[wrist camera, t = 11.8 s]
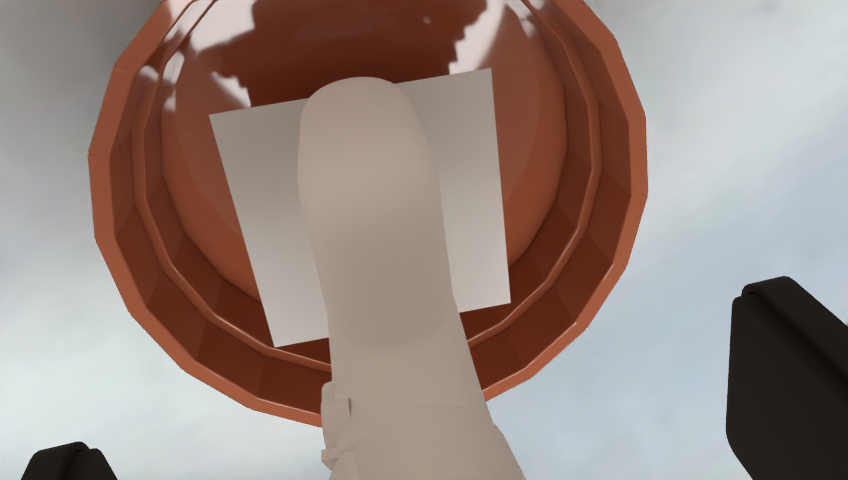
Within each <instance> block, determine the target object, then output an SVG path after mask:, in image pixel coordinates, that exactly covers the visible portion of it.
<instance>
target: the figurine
mask: <svg viewBox="0 0 848 480" xmlns="http://www.w3.org/2000/svg"><path fill="white" fill-rule="evenodd" d="M209 118H210V121H211V125H212V128H213V132H214V135H215V139H216V142H217V146H218V149H219V153H220V157H221V160H222V164H223V167H224V171H225V174H226V178H227V181H228V185H229V188H230V192H231V195H232V199H233V202H234V206H235V209H236V213H237V216H238V220H239V223H240V227H241V231H242V234H243V238H244V241H245V245H246V248H247V252H248V255H249V259H250V262H251V266H252V269H253V273H254V276H255V280H256V283H257V287H258V290H259V294H260V297H261V301H262V305H263V308H264V312H265V315H266V319H267V322H268V326H269V329H270V333H271V336H272V340H273V343H274V347H280V346H285V345H291V344H296V343H301V342H306V341H312V340H317V339H322V338H328V337H329V345H330V357H331V368H332V381H330V382H328V383H325V384H324V385H323V387H322V403H321V420H322V429H323V435H324V441H325V445H326V449H324V450H322V462H323V463H324V464H325V465H326V466H327V467H328V468H329V469H330V470H331V471H332V473H331V476H330V479H329V480H526V479H525V477H524V475H523V473H522V471H521V469H520V467H519V465H518V463H517V461H516V459H515V457H514V455H513V453H512V451H511V449H510V447H509V445H508V443H507V441H506V439H505V437H504V435H503V434H502V432H501V431H500V430H499V428H498V427H497V426H496V425H495V424H494V423H493V421H492V418H491V416H490V413H489V410H488V407H487V404H486V402H485V399H484V396H483V393H482V390H481V387H480V383H479V380H478V377H477V374H476V371H475V367H474V364H473V360H472V357H471V354H470V350H469V347H468V343H467V340H466V336H465V333H464V329H463V325H462V322H461V318H460V315H459V313H460V312H465V311H471V310H476V309H481V308H486V307H492V306H497V305H502V304H508V303H511V300H510V288H509V276H508V264H507V252H506V240H505V228H504V216H503V204H502V192H501V181H500V169H499V157H498V145H497V133H496V121H495V109H494V97H493V85H492V73H491V68H487V69H481V70H475V71H469V72H463V73H457V74H451V75H445V76H439V77H433V78H427V79H421V80H415V81H409V82H402V83H396V84H393V83H391V82H389V81H386V80H383V79H380V78H374V77H354V78H347V79H343V80H338V81H336V82H333V83H330V84H328V85H326V86H324V87H322V88H320V89H319V90H318V91H316V92H315V93H314V94H313V95H312V96H311V97H310V98H306V99H300V100H294V101H288V102H282V103H276V104H270V105H264V106H258V107H252V108H246V109H240V110H234V111H228V112H222V113H216V114H210V115H209Z"/></svg>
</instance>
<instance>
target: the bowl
mask: <svg viewBox="0 0 848 480" xmlns="http://www.w3.org/2000/svg"><path fill="white" fill-rule="evenodd" d="M487 68H491V73H492V85H493V97H494V109H495V121H496V133H497V145H498V157H499V169H500V181H501V192H502V204H503V216H504V228H505V240H506V252H507V264H508V276H509V288H510V300H511V303H508V304H502V305H497V306H492V307H486V308H481V309H476V310H471V311H465V312H460V313H459V315H460V318H461V322H462V325H463V329H464V333H465V336H466V340H467V343H468V347H469V350H470V354H471V357H472V360H473V364H474V367H475V371H476V374H477V377H478V380H479V383H480V387H481V390H482V393H483V396H484V399H485V402H486V401H488V400H490V399H492V398H494V397H496V396H498V395H500V394H502V393H503V392H505V391H507V390H509V389H511V388H513V387H515V386H517V385H519V384H521V383H523V382H525V381H527V380H529V379H530V378H531V377H533V376H534V375H536V374H537V373H538V372H539V371H540V370H541V369H542V368H543V367H545V366H546V365H547V364H548V363H549V362H550V361H551V360H552V359H553V358H555V357H556V356H557V355H558V354H559V353H560V352H561V351H562V350H564V349H565V348H566V347H567V346H568V345H569V344H570V343H571V342H573V341H574V340H575V339H576V338H577V337H578V336H579V335H580V334H582V333H583V332H584V331H585V330H586V328H587V327H588V326H589V325H590V323H591V321H592V320H593V318H594V317H595V315H596V314H597V312H598V311H599V309H600V308H601V306H602V304H603V303H604V301H605V300H606V298H607V297H608V295H609V294H610V292H611V291H612V289H613V288H614V286H615V284H616V283H617V281H618V280H619V278H620V277H621V275H622V274H623V272H624V271H625V269H626V266H627V265H628V261H629V258H630V254H631V251H632V248H633V244H634V241H635V237H636V234H637V231H638V227H639V224H640V220H641V217H642V213H643V210H644V207H645V203H646V200H647V194H648V176H647V145H646V117H645V112H644V110H643V107H642V105H641V102H640V99H639V97H638V94H637V92H636V89H635V87H634V84H633V81H632V79H631V76H630V74H629V71H628V69H627V66H626V63H625V61H624V58H623V56H622V53H621V51H620V48H619V45H618V43H617V40H616V39H615V38H614V35H613V34H612V33H611V31H610V30H609V29H608V28H607V27H606V26H605V25H604V24H603V22H602V21H601V20H600V19H599V18H598V17H597V16H596V15H595V13H594V12H593V11H592V10H591V9H590V8H589V7H588V5H587V4H586V3H585V2H584V1H583V0H162V2H161V3H160V4H159V5H158V7H157V8H156V9H155V11H154V12H153V13H152V15H151V16H150V17H149V19H148V20H147V21H146V23H145V24H144V25H143V26H142V28H141V29H140V30H139V32H138V33H137V34H136V36H135V37H134V38H133V40H132V41H131V42H130V43H129V45H128V46H127V47H126V49H125V50H124V51H123V53H122V54H121V55H120V57H119V58H118V59H117V60H116V62H115V65H114V66H113V68H112V71H111V75H110V78H109V82H108V85H107V88H106V92H105V95H104V99H103V102H102V106H101V109H100V113H99V116H98V119H97V123H96V126H95V130H94V133H93V137H92V140H91V143H90V147H89V150H88V152H89V154H88V164H89V176H90V188H91V200H92V212H93V224H94V236H95V239H96V243H97V245H98V247H99V249H100V251H101V253H102V256H103V258H104V260H105V262H106V264H107V266H108V268H109V271H110V273H111V275H112V277H113V279H114V281H115V284H116V286H117V288H118V290H119V292H120V294H121V297H122V299H123V301H124V303H125V305H126V307H127V309H128V312H129V313H130V314H131V316H132V317H133V318H134V319H135V320H136V321H137V322H138V323H139V324H140V325H141V326H142V328H143V329H144V330H145V331H146V332H147V333H148V334H149V335H150V336H151V337H152V338H153V339H154V340H155V341H156V342H157V343H158V344H159V346H160V347H161V348H162V349H163V350H164V351H165V352H166V353H167V354H168V355H169V356H170V357H171V358H172V359H173V360H174V361H175V362H176V364H177V365H178V366H179V367H180V368H181V369H182V370H184V371H185V372H186V373H188V374H190V375H191V376H193V377H195V378H197V379H198V380H200V381H202V382H204V383H205V384H207V385H209V386H211V387H212V388H214V389H216V390H218V391H219V392H221V393H223V394H225V395H226V396H228V397H230V398H231V399H233V400H235V401H237V402H238V403H240V404H242V405H244V406H245V407H247V408H250V409H252V410H255V411H259V412H263V413H267V414H271V415H275V416H278V417H282V418H286V419H290V420H294V421H298V422H301V423H305V424H309V425H313V426H317V427H322V420H321V403H322V387H323V385H324V384H325V383H328V382H330V381H332V368H331V357H330V345H329V337H328V338H322V339H317V340H312V341H306V342H301V343H296V344H291V345H285V346H280V347H274V343H273V340H272V336H271V333H270V329H269V326H268V322H267V319H266V315H265V312H264V308H263V305H262V301H261V297H260V294H259V290H258V287H257V283H256V280H255V276H254V273H253V269H252V266H251V262H250V259H249V255H248V252H247V248H246V245H245V241H244V238H243V234H242V231H241V227H240V223H239V220H238V216H237V213H236V209H235V206H234V202H233V199H232V195H231V192H230V188H229V185H228V181H227V178H226V174H225V171H224V167H223V164H222V160H221V157H220V153H219V149H218V146H217V142H216V139H215V135H214V132H213V128H212V125H211V121H210V118H209V115H210V114H216V113H222V112H228V111H234V110H240V109H246V108H252V107H258V106H264V105H270V104H276V103H282V102H288V101H294V100H300V99H306V98H310V97H311V96H312V95H313V94H314V93H315V92H316V91H318V90H319V89H320V88H322V87H324V86H326V85H328V84H330V83H333V82H336V81H338V80H343V79H347V78H354V77H374V78H380V79H383V80H386V81H389V82H391V83H393V84H396V83H402V82H409V81H415V80H421V79H427V78H433V77H439V76H445V75H451V74H457V73H463V72H469V71H475V70H481V69H487Z"/></svg>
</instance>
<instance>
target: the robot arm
mask: <svg viewBox="0 0 848 480" xmlns="http://www.w3.org/2000/svg"><path fill="white" fill-rule="evenodd" d="M726 434H727V439H728V442H729V444H730V447H731V449H732V451H733V452H734V454H735V455H736V457H737V458H738V460H739V461H740V462H741V464H742V465H743V467H744V468H745V469H746V471H747V472H748V474H749V475H750V476H751V478H752V479H753V480H848V326H847V325H845V324H844V323H843V322H842V321H841V320H840V319H838V318H837V317H836V316H835V315H834V314H833V313H831V312H830V311H829V310H828V309H827V308H826V307H824V306H823V305H822V304H821V303H820V302H819V301H818V300H816V299H815V298H814V297H813V296H812V295H811V294H809V293H808V292H807V291H806V290H805V289H804V288H802V287H801V286H800V285H799V284H798V283H797V282H795V281H794V280H793V279H791V278H790V277H786V276H782V277H777V278H773V279H769V280H764V281H760V282H756V283H752V284H748V285H746V286H745V287H744V288H743V290H742V294H741V296H740V297H737V298H735V299H734V301H733V304H732V317H731V336H730V355H729V374H728V394H727V413H726ZM21 480H118V479H117V478H116V476H115V474H114V473H113V471H112V469H111V467H110V466H109V464H108V462H107V460H106V459H105V457H104V455H103V454H102V452H101V451H100V450H98V449H97V448H95V449H89V448H88V446H87V445H86V444H85V443H83V442H74V443H69V444H65V445H61V446H57V447H52V448H48V449H44V450H40V451H38V452H36V453H35V454H34V455H33V456H32V458H31V459H30V461H29V464H28V466H27V468H26V470H25V472H24V474H23V476H22V478H21Z"/></svg>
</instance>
